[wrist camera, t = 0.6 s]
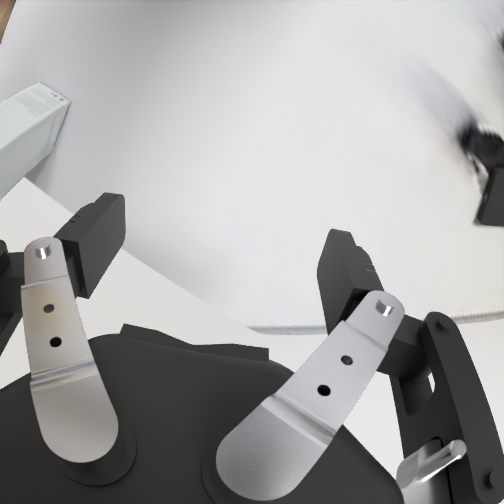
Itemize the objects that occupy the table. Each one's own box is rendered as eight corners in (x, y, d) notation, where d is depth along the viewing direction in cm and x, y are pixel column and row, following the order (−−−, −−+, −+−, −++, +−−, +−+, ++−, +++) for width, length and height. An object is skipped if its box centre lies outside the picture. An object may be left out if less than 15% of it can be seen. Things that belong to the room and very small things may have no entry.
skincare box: (40, 80, 26) (-53, 128, 15) (74, 101, 29) (-15, 158, 17) (22, 135, 31) (-56, 195, 20) (53, 156, 33) (-21, 225, 22)
